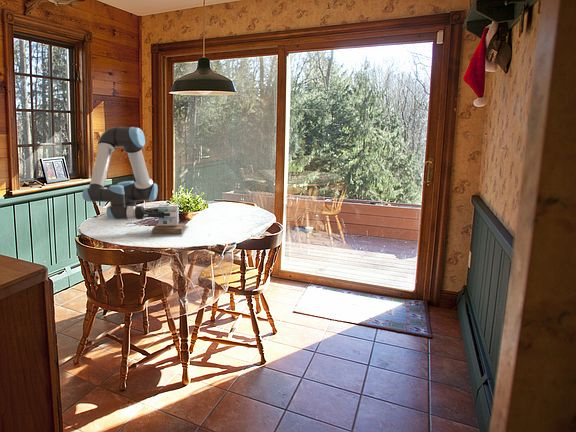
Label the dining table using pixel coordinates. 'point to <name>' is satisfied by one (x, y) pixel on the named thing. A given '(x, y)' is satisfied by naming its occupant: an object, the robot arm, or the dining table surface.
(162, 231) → the walnut plinth
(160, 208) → the light bulb box
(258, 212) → the dining table surface
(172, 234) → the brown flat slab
